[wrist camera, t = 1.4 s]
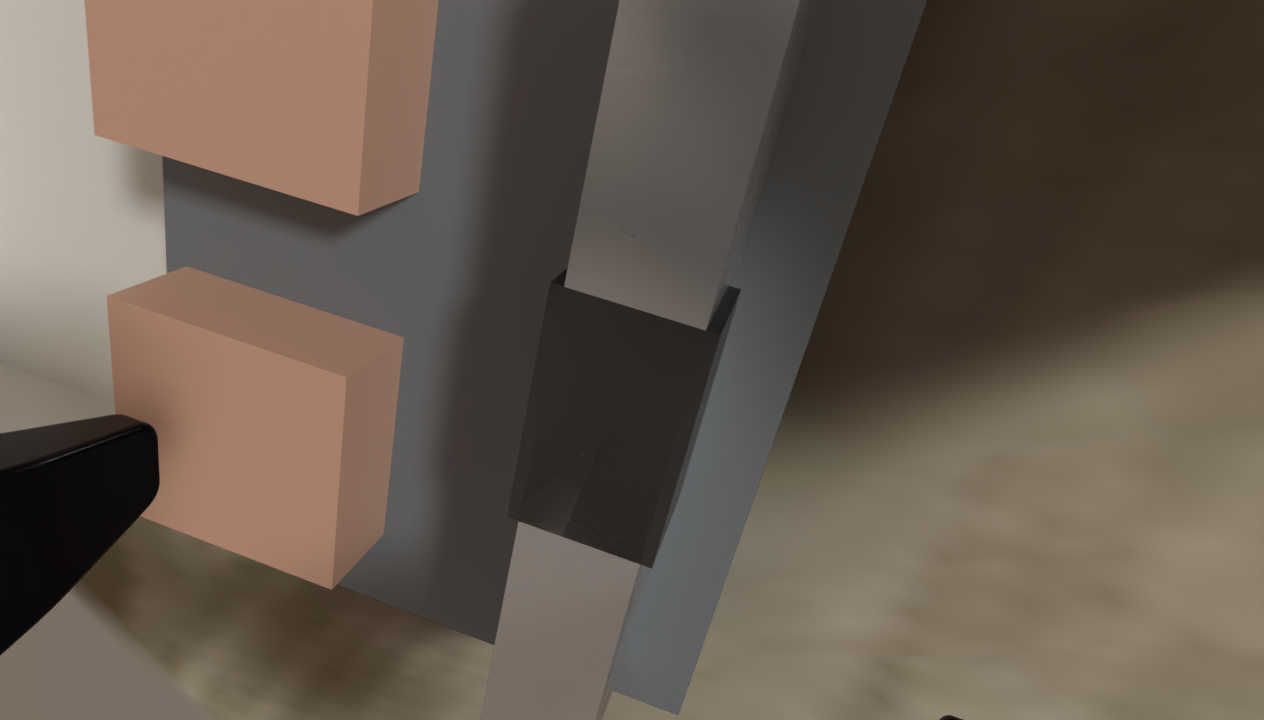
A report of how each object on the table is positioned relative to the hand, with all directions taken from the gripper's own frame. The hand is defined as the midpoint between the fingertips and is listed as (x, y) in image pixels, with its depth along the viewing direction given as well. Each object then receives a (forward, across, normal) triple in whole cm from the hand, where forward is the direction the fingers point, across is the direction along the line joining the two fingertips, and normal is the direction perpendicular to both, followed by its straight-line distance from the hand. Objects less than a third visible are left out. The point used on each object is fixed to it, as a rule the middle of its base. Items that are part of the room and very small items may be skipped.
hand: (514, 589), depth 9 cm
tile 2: (+7, +8, +4) cm, 11 cm away
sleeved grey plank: (+7, 0, 0) cm, 7 cm away
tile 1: (+7, +8, -4) cm, 11 cm away
